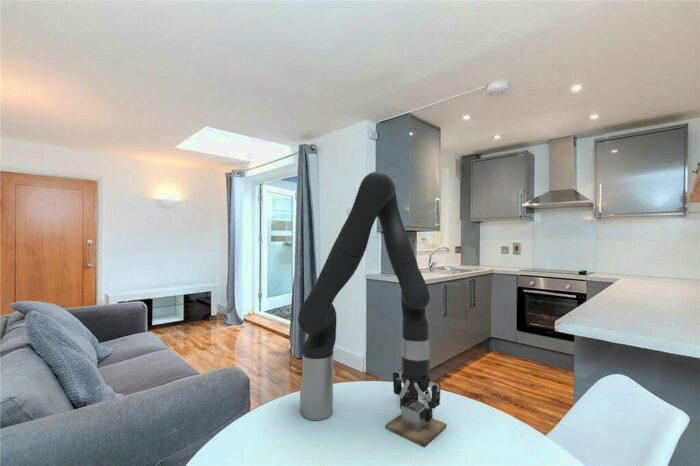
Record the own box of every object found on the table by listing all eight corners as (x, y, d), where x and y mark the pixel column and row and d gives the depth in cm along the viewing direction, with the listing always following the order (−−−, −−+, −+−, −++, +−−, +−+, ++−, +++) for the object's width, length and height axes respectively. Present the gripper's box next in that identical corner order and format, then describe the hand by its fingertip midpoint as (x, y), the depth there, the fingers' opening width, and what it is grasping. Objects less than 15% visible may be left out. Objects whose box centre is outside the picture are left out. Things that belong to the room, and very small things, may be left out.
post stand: (385, 428, 87) (385, 406, 87) (409, 412, 96) (409, 391, 96) (424, 447, 79) (424, 422, 79) (446, 427, 87) (446, 405, 88)
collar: (401, 424, 87) (401, 405, 87) (412, 416, 91) (412, 398, 91) (419, 432, 83) (419, 413, 83) (430, 423, 87) (429, 405, 88)
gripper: (386, 352, 90) (386, 412, 89) (432, 364, 80) (433, 432, 80) (401, 346, 96) (401, 402, 95) (445, 357, 86) (446, 420, 85)
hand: (415, 415), depth 87 cm, fingers open, 6 cm apart
